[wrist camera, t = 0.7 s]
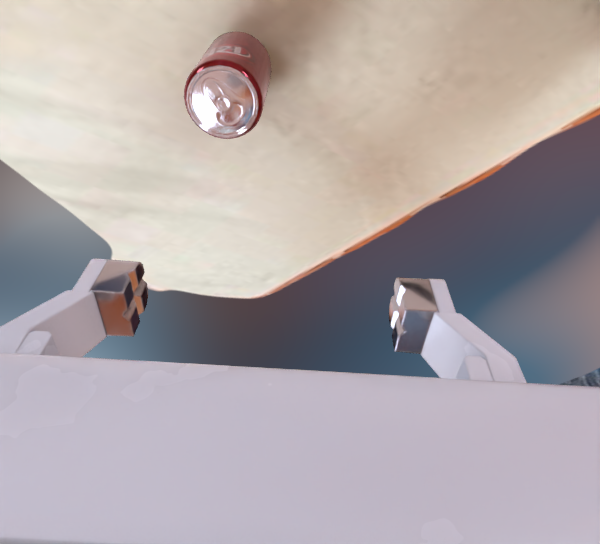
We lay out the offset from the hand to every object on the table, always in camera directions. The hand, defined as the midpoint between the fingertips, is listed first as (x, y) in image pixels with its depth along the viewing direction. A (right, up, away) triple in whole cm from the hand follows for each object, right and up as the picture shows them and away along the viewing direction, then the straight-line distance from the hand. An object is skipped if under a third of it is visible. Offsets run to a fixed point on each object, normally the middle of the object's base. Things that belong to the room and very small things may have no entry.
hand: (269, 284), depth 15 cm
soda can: (-6, +23, +37) cm, 44 cm away
